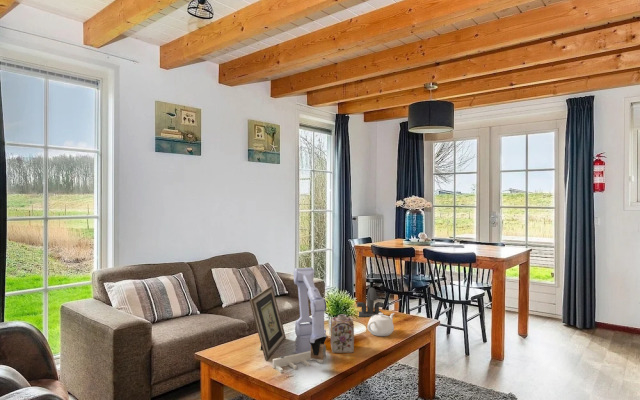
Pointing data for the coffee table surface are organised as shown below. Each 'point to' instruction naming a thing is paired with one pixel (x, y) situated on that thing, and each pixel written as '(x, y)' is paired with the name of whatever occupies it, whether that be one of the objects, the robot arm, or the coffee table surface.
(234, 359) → the coffee table surface
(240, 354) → the coffee table surface
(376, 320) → the teapot
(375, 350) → the coffee table surface
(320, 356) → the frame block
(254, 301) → the picture frame
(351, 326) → the decorative jar
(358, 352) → the coffee table surface
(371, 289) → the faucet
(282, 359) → the cream pronged rack
